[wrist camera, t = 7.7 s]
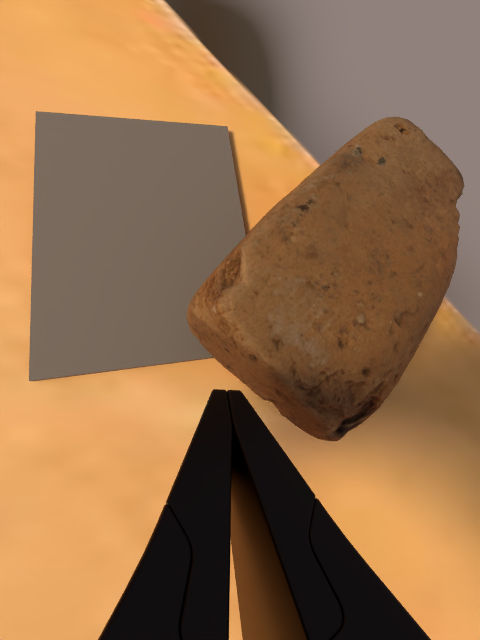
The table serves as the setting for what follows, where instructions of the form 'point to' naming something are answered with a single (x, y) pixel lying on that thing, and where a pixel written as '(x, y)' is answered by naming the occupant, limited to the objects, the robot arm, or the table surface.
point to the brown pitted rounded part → (338, 280)
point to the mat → (125, 239)
